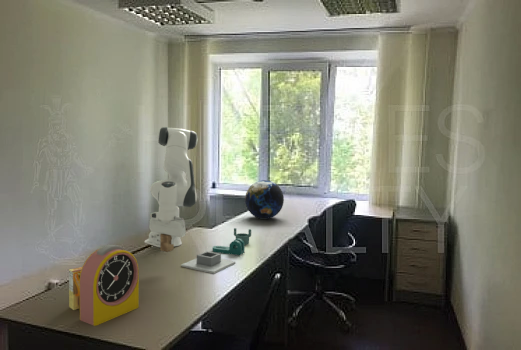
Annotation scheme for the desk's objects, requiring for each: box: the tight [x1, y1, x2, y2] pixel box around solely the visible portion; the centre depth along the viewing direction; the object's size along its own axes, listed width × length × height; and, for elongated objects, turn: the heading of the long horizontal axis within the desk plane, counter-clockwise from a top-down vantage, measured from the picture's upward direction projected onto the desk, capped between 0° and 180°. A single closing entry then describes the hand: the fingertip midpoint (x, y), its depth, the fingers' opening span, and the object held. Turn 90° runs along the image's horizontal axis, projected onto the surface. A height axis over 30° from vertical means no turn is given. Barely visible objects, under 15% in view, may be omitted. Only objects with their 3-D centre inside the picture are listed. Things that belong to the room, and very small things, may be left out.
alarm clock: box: [79, 244, 140, 327], centre depth 174 cm, size 21×9×26 cm, turn 148°
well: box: [180, 250, 236, 275], centre depth 238 cm, size 20×20×6 cm
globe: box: [244, 179, 285, 220], centre depth 356 cm, size 30×30×30 cm
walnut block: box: [159, 234, 175, 253], centre depth 227 cm, size 4×4×8 cm
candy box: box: [68, 266, 83, 311], centre depth 180 cm, size 9×4×15 cm, turn 137°
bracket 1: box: [211, 238, 246, 256], centre depth 263 cm, size 18×7×8 cm, turn 73°
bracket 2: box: [233, 227, 252, 245], centre depth 283 cm, size 9×9×9 cm
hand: (167, 242), depth 227 cm, fingers closed on walnut block, 4 cm apart
